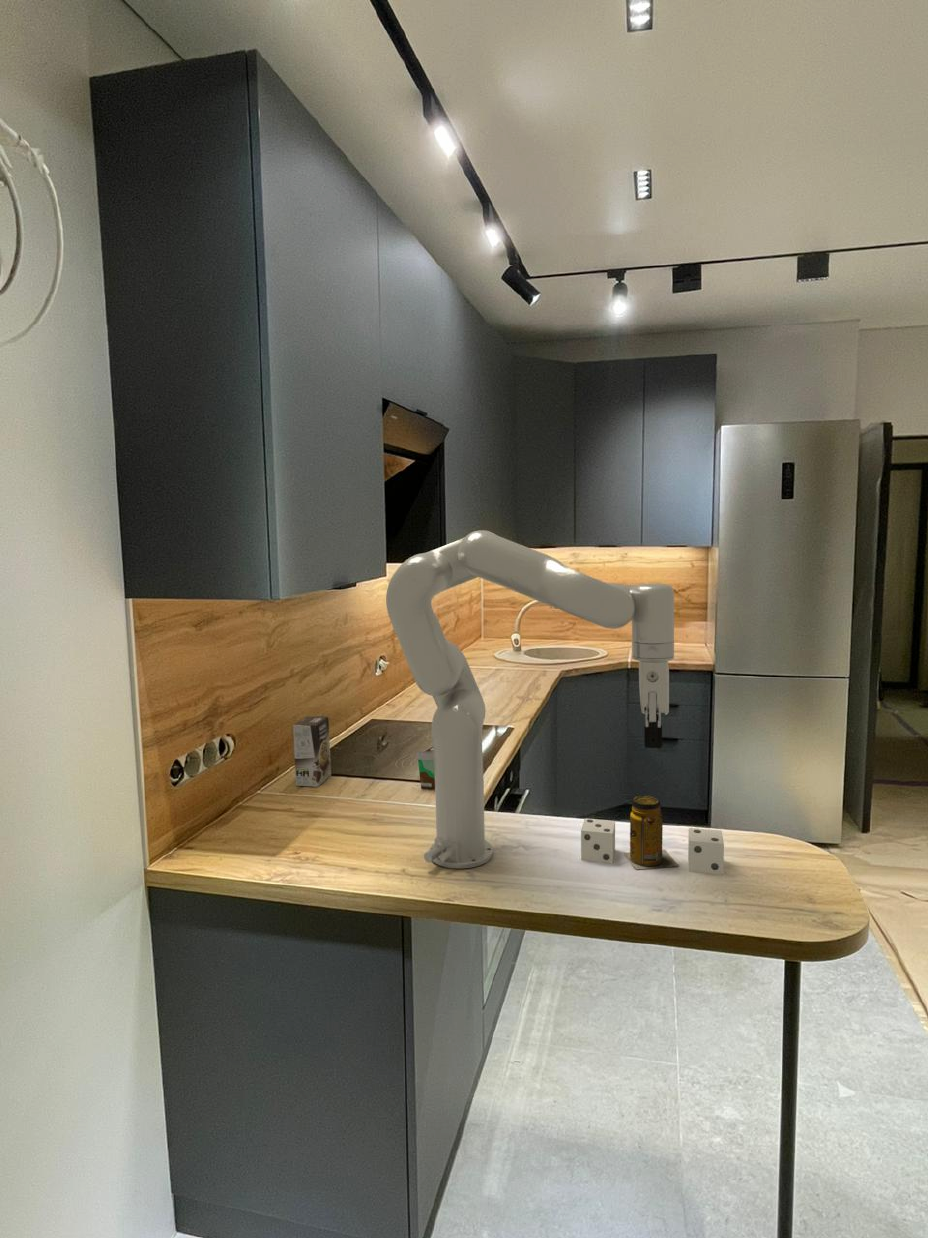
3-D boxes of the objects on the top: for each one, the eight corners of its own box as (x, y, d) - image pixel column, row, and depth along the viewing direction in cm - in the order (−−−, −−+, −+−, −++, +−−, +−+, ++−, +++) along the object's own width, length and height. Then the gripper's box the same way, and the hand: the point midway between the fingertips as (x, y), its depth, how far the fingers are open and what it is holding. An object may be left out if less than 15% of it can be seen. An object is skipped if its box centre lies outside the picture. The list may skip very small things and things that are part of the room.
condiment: (623, 853, 142) (623, 794, 140) (665, 850, 143) (665, 792, 141) (635, 870, 135) (635, 809, 133) (679, 867, 135) (680, 806, 134)
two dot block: (723, 875, 132) (724, 843, 131) (689, 872, 134) (689, 840, 133) (721, 860, 138) (721, 830, 137) (688, 857, 140) (688, 827, 139)
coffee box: (318, 787, 182) (315, 725, 180) (295, 786, 184) (291, 724, 182) (332, 775, 191) (329, 715, 189) (309, 774, 193) (306, 715, 191)
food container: (436, 795, 175) (435, 755, 174) (417, 790, 179) (415, 751, 178) (466, 780, 185) (465, 742, 184) (448, 776, 189) (447, 738, 187)
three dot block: (612, 863, 138) (612, 833, 137) (581, 860, 139) (580, 830, 139) (615, 850, 144) (615, 820, 143) (584, 847, 145) (584, 818, 144)
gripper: (674, 658, 125) (674, 760, 128) (673, 644, 140) (674, 736, 142) (630, 657, 127) (630, 758, 130) (634, 643, 142) (634, 734, 144)
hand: (653, 746), depth 136 cm, fingers closed
